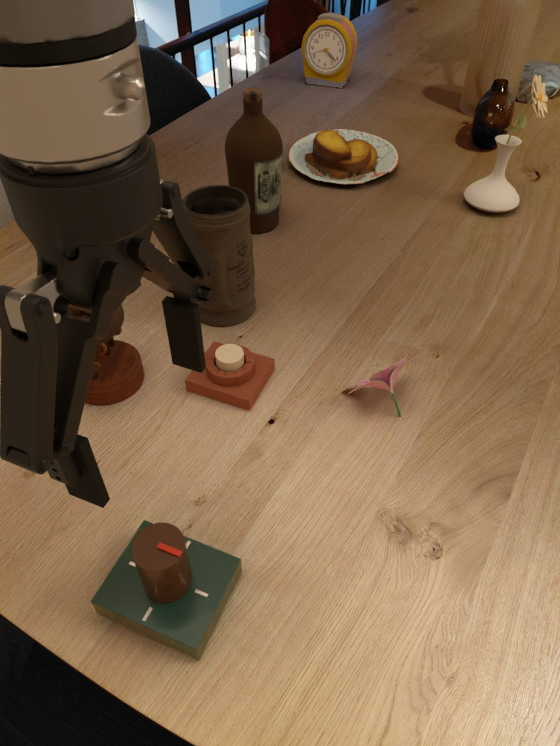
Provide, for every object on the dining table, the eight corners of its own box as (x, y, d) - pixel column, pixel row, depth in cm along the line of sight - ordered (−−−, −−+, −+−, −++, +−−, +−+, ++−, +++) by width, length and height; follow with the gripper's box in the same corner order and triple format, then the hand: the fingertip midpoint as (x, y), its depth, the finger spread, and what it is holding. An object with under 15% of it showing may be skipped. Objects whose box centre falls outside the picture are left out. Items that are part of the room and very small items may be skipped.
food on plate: (417, 164, 134) (423, 136, 129) (350, 202, 121) (354, 172, 116) (335, 132, 146) (337, 106, 141) (266, 163, 133) (266, 135, 129)
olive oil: (218, 221, 115) (208, 90, 97) (256, 203, 120) (253, 75, 102) (254, 241, 109) (251, 107, 92) (292, 221, 115) (296, 91, 97)
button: (210, 367, 80) (209, 358, 79) (223, 349, 82) (222, 340, 81) (236, 375, 79) (236, 366, 77) (248, 357, 81) (248, 348, 80)
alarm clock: (299, 84, 171) (301, 14, 158) (307, 75, 177) (310, 7, 164) (347, 90, 168) (354, 19, 155) (354, 81, 174) (360, 12, 161)
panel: (96, 613, 59) (89, 600, 57) (148, 533, 66) (143, 518, 63) (199, 661, 56) (195, 649, 54) (242, 571, 62) (241, 557, 60)
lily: (423, 381, 85) (406, 324, 81) (450, 417, 74) (431, 352, 70) (347, 409, 86) (327, 353, 82) (362, 447, 75) (340, 385, 71)
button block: (186, 390, 81) (183, 371, 79) (214, 351, 87) (212, 331, 85) (249, 411, 79) (248, 391, 76) (274, 369, 85) (274, 349, 82)
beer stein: (270, 298, 97) (262, 186, 83) (241, 335, 90) (226, 220, 76) (193, 280, 102) (173, 172, 88) (160, 314, 95) (133, 203, 81)
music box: (78, 347, 88) (55, 233, 74) (151, 351, 88) (141, 240, 74) (52, 423, 77) (18, 307, 63) (135, 427, 78) (119, 313, 64)
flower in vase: (493, 223, 115) (533, 93, 97) (450, 201, 121) (481, 75, 104) (533, 205, 120) (578, 79, 103) (490, 184, 127) (525, 62, 109)
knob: (133, 591, 58) (120, 557, 52) (159, 549, 61) (149, 513, 56) (176, 611, 56) (167, 577, 51) (200, 566, 59) (194, 531, 54)
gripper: (-71, 309, 18) (84, 595, 33) (252, 71, 34) (258, 335, 49) (-233, 256, 20) (-17, 549, 35) (146, 56, 36) (183, 314, 51)
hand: (144, 424), depth 42 cm, fingers open, 13 cm apart
